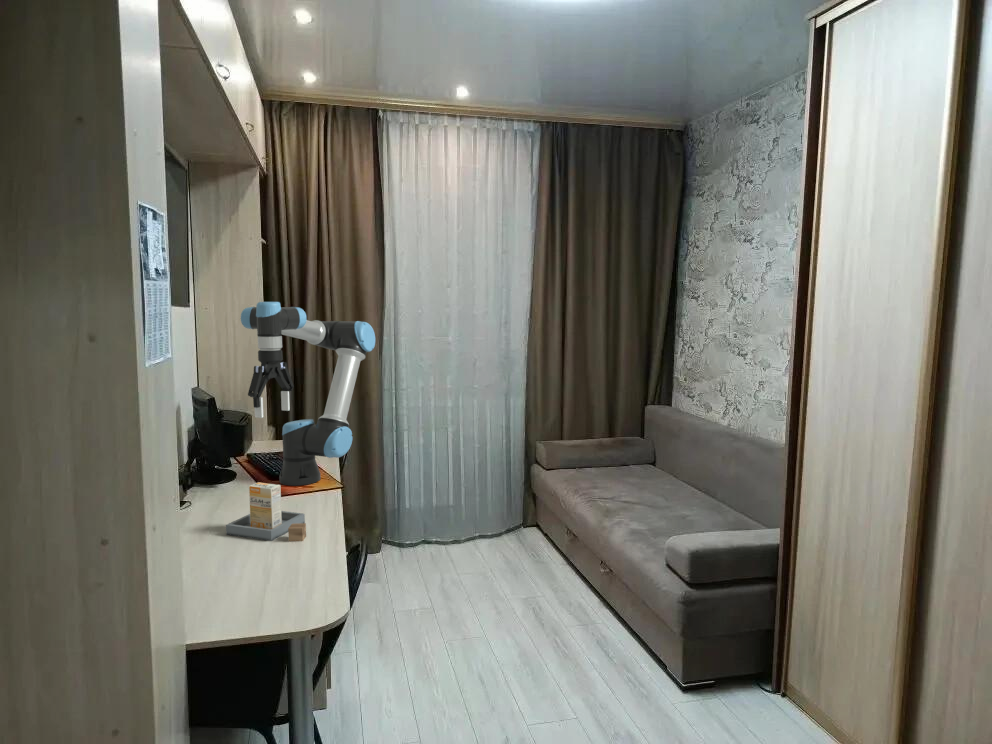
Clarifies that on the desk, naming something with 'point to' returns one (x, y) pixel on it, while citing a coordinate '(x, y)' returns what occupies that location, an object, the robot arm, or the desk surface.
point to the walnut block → (297, 532)
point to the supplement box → (265, 505)
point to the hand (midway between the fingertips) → (272, 413)
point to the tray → (245, 529)
